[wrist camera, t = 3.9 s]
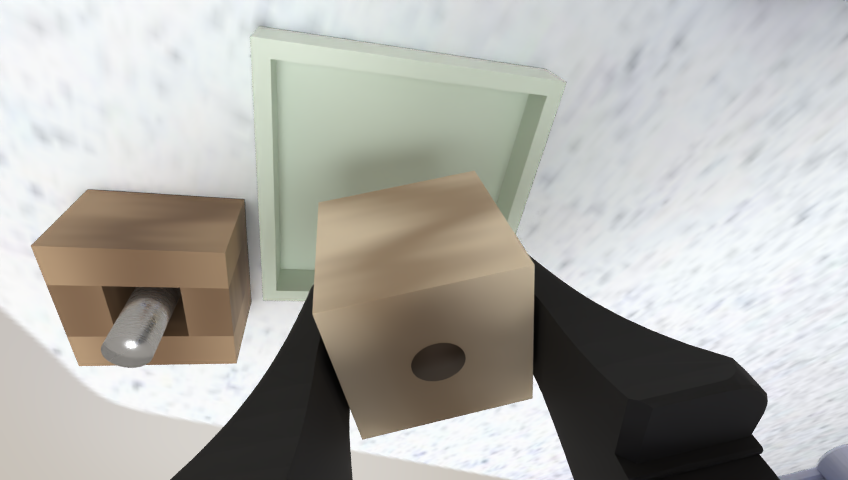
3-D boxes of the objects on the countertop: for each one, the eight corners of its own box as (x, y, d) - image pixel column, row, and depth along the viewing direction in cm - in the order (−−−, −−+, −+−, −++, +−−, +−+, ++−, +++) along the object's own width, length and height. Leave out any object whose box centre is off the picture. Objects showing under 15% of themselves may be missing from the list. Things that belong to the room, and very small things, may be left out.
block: (474, 170, 14) (534, 265, 10) (483, 287, 17) (532, 398, 12) (318, 202, 13) (312, 314, 9) (355, 316, 16) (362, 440, 12)
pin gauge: (195, 238, 20) (149, 336, 15) (199, 266, 21) (156, 367, 16) (156, 236, 19) (95, 336, 14) (162, 265, 20) (106, 368, 15)
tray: (545, 68, 18) (566, 81, 16) (481, 279, 24) (492, 303, 22) (259, 26, 15) (249, 36, 14) (268, 273, 21) (262, 300, 20)
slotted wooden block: (244, 199, 19) (224, 252, 16) (251, 301, 22) (236, 363, 19) (87, 189, 18) (30, 245, 14) (119, 300, 21) (79, 365, 18)
